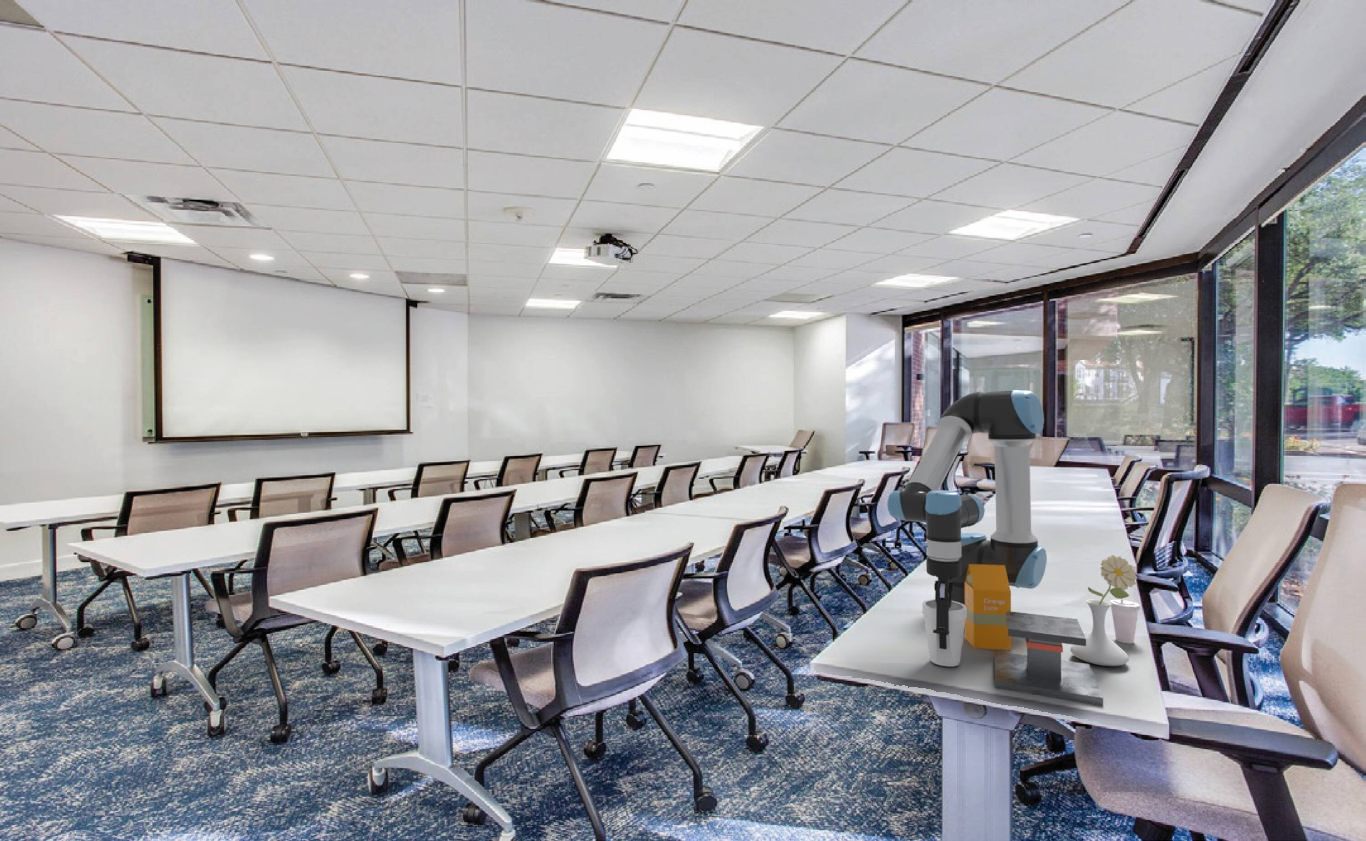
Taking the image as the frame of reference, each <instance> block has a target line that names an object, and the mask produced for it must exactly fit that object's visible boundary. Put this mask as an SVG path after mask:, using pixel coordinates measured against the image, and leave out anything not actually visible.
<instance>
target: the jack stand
mask: <svg viewBox="0 0 1366 841" xmlns="http://www.w3.org/2000/svg"><path fill="white" fill-rule="evenodd" d="M1006 620H1007V630H1008V636H1011V638H1013V637H1015V638H1020V639H1025V642H1026V643H1025V645H1026V654H1019V653H1012V652H1005V651H999V650H994V651H993V652H994V656H993V657H994V683H995V684H994V685H995V689H1000V690H1007V691H1012V692H1019V693H1024V694H1031V695H1037V696H1043V697H1049V698H1054V699H1060V700H1061V699H1062V700H1067V701H1074V702H1079V703H1085V704H1092V705H1096V706H1097V705H1098V706H1104V696H1103V694H1102V691H1101V690H1100V687H1099V685H1098V682H1097V680H1096V678H1095V675H1094V673H1093V671H1092V667H1091V666H1090V663H1082V662H1075V661H1068V660H1063V659H1062V653H1064V650H1063V649H1064V647H1063V644H1066V645H1080V646H1086V638H1085V637H1086V636H1085V634H1084V631H1083V629H1082V627H1081V624H1080V622H1079V621H1078V618H1072V617H1071V618H1070V617H1061V616H1053V615H1045V614H1044V615H1043V614H1035V613H1028V612H1018V611H1012V610H1011V611H1006Z"/></svg>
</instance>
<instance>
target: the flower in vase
mask: <svg viewBox="0 0 1366 841" xmlns="http://www.w3.org/2000/svg"><path fill="white" fill-rule="evenodd" d="M1100 565H1101V567H1100V572H1101V573H1100V576H1101V577H1103V579H1104V580H1105V581H1106V582H1107V584H1108V589H1107V590H1106V592H1105V593H1104V594H1103V593H1102V592H1099V591H1096V590H1094V589H1092V588H1091V587H1089V586H1088V587H1087V590H1088V592H1089V593H1091V594H1093V595H1096V596H1099V597H1102V598H1101V599H1096V598H1095V599H1092V598H1091V599H1090V598H1089V599H1086V600H1085V602H1086V604H1087V605H1088V606H1089V608H1090V611H1091V616H1092V631H1091V633H1090V634H1088V635H1087V636H1085V638H1086V646H1080V645H1073V644H1071V647H1070V652H1071V654H1072V655H1073V656H1074V657H1076V658H1077V659H1080V660H1082V661H1084V662H1087V663H1088V664H1090V663H1091V664H1094V665H1099V666H1103V667H1106V666H1107V667H1118V666H1123V665H1126V664H1127V663H1128V662H1129V661H1130V658H1129V656H1128V653H1126V652H1125V651H1124V649H1122V648H1121V647H1120V646H1119V645H1118V644H1117V643H1115V642H1114V641H1113V640H1112V639H1111V638H1110V637H1109V636H1107V633H1106V630H1105V627H1106V626H1105V624H1106V622H1105V620H1106V614H1107V611H1108V609H1109V608H1111V605H1112V604H1111V603H1110V601H1107V600H1106V601H1105V600H1104V599H1105V598H1106V596H1107V595H1108V594H1109V593H1110V595H1112V596H1113V597H1114V598H1115V599H1117V600H1121V598H1123V599H1125V598H1128V597H1130V595H1129V593H1128V592H1127V591H1126V590H1128V588H1133V586H1135V585H1136V584H1137V583H1136V580H1137V579H1138V576H1137V572H1136V570H1135V569H1134V567H1133V565H1132V564H1129V561H1128V560H1127V559H1126V558H1122V557H1121V556H1115V555H1111V556H1108V557H1107V559H1106V558H1104V559H1102V560H1101V563H1100ZM1111 587H1113V588H1111Z"/></svg>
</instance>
